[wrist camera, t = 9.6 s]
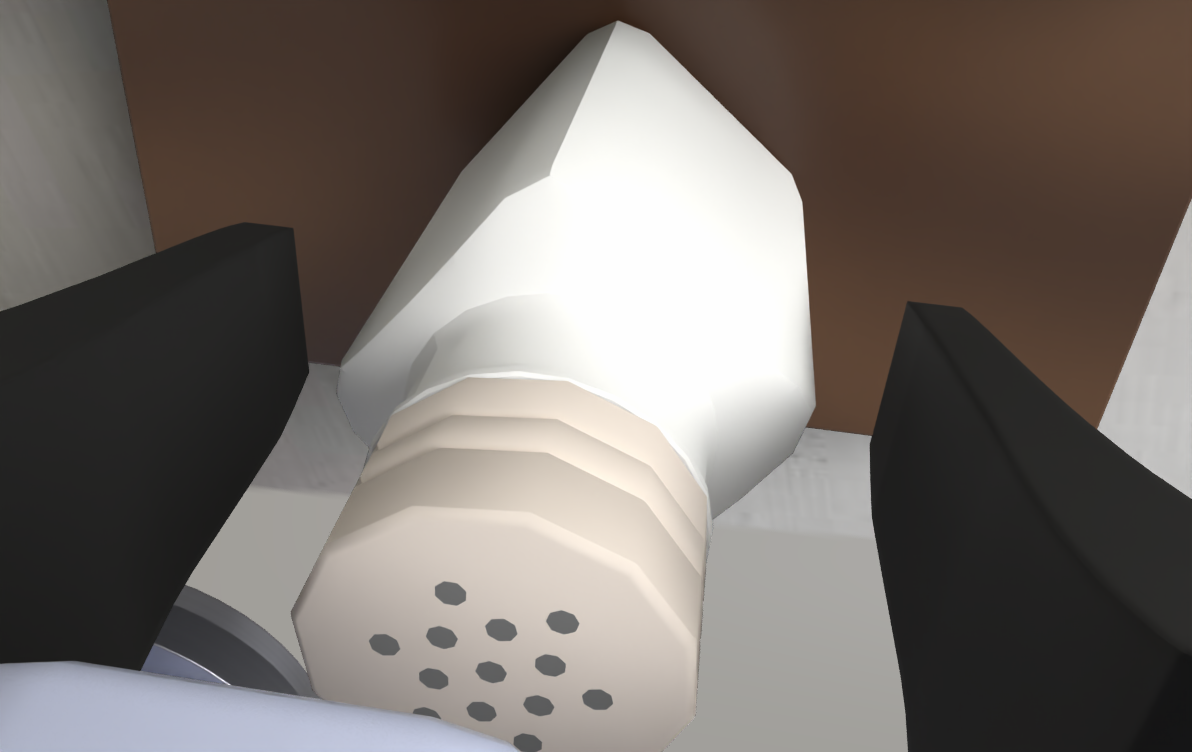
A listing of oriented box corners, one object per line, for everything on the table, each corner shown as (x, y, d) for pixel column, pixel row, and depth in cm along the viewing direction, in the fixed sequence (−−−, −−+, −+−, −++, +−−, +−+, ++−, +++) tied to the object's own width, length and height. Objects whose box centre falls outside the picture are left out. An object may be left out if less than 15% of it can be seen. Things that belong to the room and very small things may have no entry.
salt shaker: (633, 342, 17) (522, 884, 10) (448, 181, 16) (146, 646, 8) (818, 186, 15) (871, 701, 8) (622, -10, 14) (443, 358, 6)
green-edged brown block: (1039, 355, 20) (1146, 619, 15) (251, 259, 22) (63, 466, 16) (1249, -236, 15) (1558, -189, 9) (172, -319, 16) (-162, -323, 10)
